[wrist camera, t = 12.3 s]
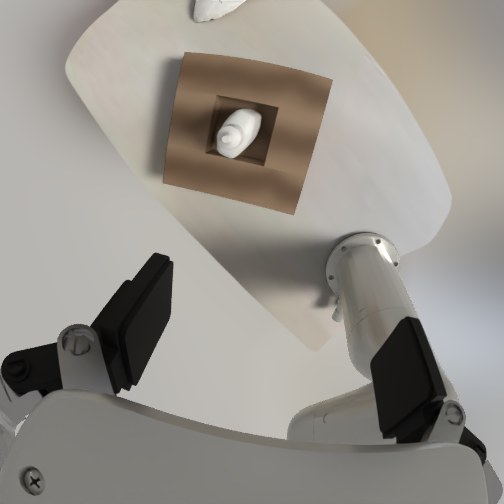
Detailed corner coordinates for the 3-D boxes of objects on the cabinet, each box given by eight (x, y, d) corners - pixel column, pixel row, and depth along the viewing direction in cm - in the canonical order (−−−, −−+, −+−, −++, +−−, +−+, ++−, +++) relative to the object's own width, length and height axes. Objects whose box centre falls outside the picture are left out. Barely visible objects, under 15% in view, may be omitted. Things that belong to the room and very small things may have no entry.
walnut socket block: (293, 203, 39) (293, 215, 36) (175, 174, 40) (162, 183, 36) (327, 83, 30) (332, 79, 26) (196, 57, 30) (184, 52, 26)
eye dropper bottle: (219, 127, 34) (188, 137, 24) (254, 104, 32) (237, 103, 22) (237, 153, 36) (214, 174, 26) (273, 131, 34) (264, 142, 23)
